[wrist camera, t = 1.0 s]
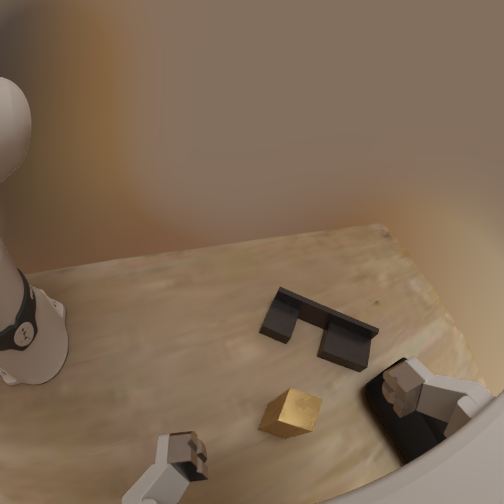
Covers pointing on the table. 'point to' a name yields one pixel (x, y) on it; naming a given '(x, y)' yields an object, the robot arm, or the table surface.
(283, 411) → the wooden block
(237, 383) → the table surface
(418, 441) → the portable speaker
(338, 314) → the rail
